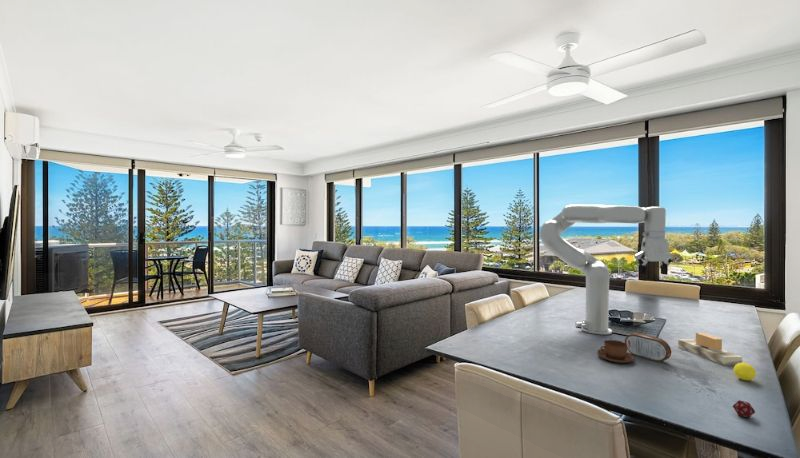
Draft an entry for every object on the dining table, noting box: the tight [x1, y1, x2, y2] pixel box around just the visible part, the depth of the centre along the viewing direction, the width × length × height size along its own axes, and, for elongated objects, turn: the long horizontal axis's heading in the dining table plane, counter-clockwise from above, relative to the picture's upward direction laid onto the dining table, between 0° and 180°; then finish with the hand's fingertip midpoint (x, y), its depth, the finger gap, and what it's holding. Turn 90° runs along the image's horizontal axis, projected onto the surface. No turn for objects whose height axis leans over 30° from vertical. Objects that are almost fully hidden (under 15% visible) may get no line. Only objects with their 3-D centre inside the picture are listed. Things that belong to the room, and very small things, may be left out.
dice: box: [732, 399, 756, 419], centre depth 98 cm, size 4×4×4 cm
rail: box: [677, 338, 743, 366], centre depth 144 cm, size 20×7×3 cm, turn 5°
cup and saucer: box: [596, 339, 635, 364], centre depth 139 cm, size 12×12×6 cm
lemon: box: [733, 362, 757, 381], centre depth 122 cm, size 7×5×5 cm
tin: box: [624, 332, 672, 363], centre depth 141 cm, size 15×3×8 cm, turn 34°
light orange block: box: [695, 332, 723, 352], centre depth 144 cm, size 8×3×8 cm, turn 5°
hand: (653, 274), depth 164 cm, fingers open, 9 cm apart
